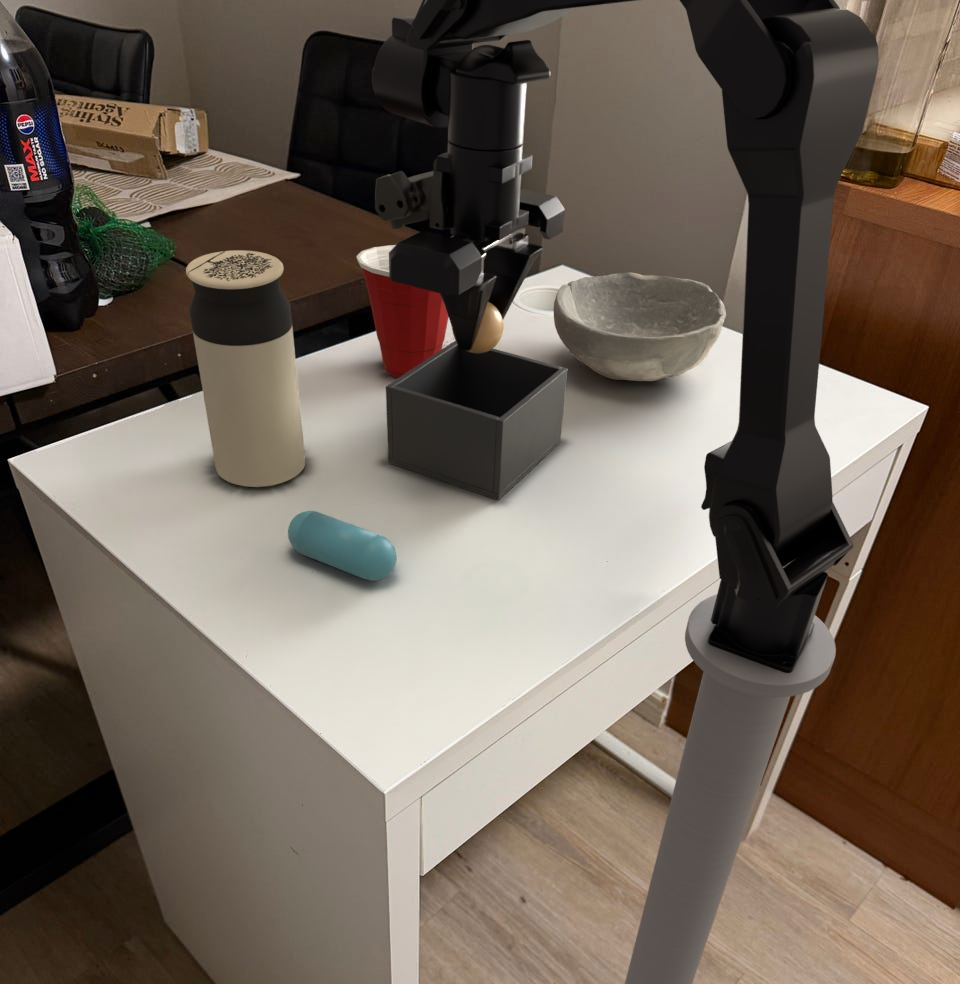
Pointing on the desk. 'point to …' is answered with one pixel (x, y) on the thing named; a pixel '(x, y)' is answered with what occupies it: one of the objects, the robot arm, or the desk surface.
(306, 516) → the teal capsule pill
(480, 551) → the desk surface
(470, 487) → the wastebin
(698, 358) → the bowl
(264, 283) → the travel mug
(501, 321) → the orange ball
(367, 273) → the plastic cup
